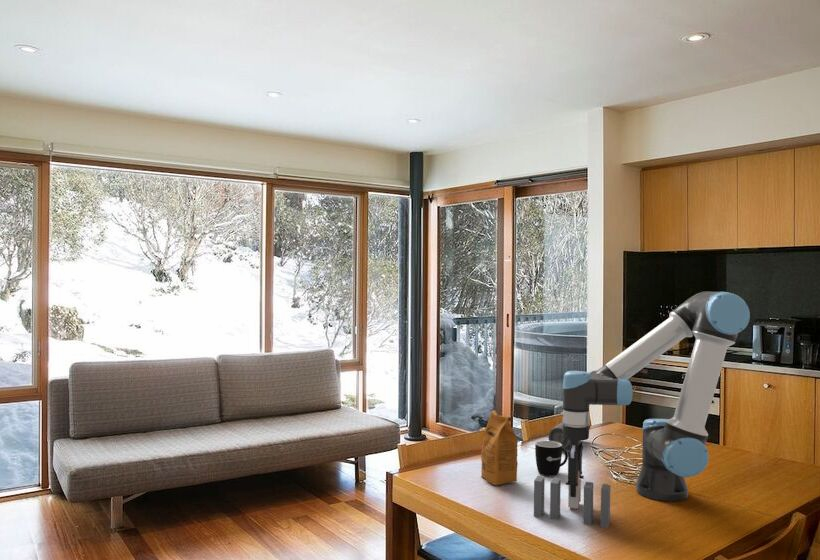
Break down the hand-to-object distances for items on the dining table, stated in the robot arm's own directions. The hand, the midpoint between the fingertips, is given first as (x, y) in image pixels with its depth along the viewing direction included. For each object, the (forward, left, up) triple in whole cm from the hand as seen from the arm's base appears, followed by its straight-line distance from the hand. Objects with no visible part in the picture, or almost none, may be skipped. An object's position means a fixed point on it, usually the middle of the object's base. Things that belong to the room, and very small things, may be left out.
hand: (574, 503), depth 188 cm
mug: (+11, -30, -1) cm, 32 cm away
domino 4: (-5, +10, -1) cm, 11 cm away
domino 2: (+4, +10, -1) cm, 11 cm away
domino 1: (+8, +10, -1) cm, 13 cm away
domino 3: (0, 0, -1) cm, 1 cm away
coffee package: (+26, -15, -1) cm, 30 cm away
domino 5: (-10, +10, -1) cm, 14 cm away
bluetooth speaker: (+11, -69, -1) cm, 70 cm away
